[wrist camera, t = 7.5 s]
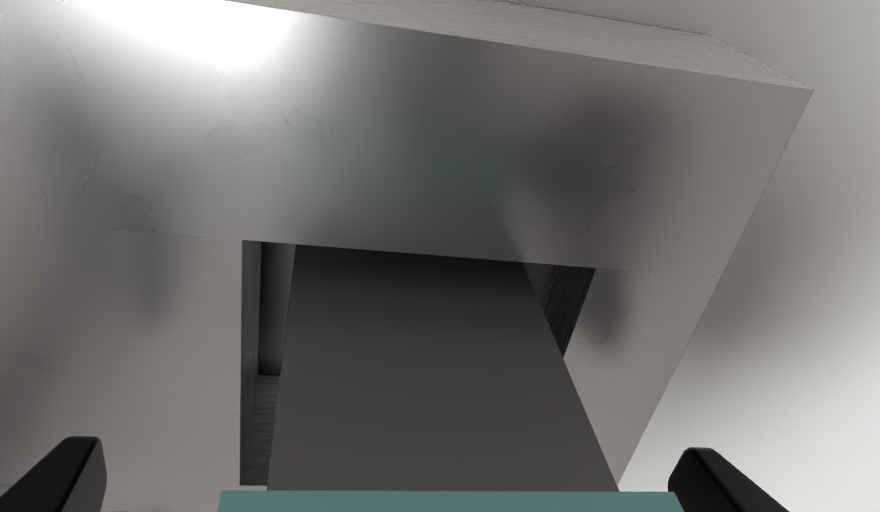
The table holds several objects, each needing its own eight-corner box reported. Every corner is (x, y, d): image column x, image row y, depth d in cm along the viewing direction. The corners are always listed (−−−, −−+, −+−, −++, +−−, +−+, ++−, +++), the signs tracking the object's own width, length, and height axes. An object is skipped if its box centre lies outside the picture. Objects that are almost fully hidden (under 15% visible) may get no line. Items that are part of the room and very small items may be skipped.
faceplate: (523, 515, 19) (557, 642, 16) (-3, 517, 16) (-83, 673, 13) (711, 35, 11) (841, 104, 8) (-203, -115, 9) (-493, -92, 6)
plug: (476, 372, 15) (577, 777, 9) (272, 363, 14) (211, 811, 8) (524, 197, 13) (719, 579, 6) (282, 173, 12) (201, 594, 5)
